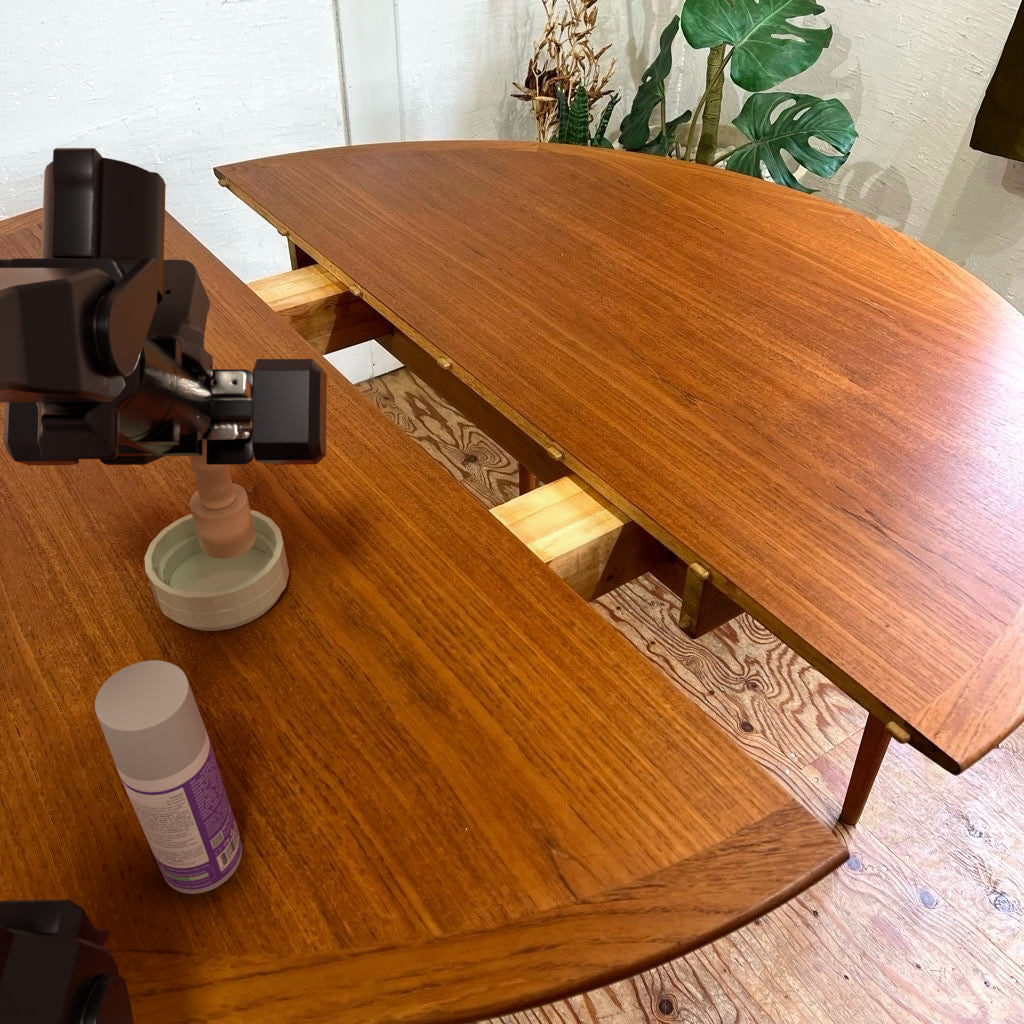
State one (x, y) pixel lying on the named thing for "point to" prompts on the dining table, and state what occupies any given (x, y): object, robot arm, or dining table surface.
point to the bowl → (215, 576)
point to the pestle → (220, 510)
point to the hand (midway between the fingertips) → (210, 435)
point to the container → (170, 774)
